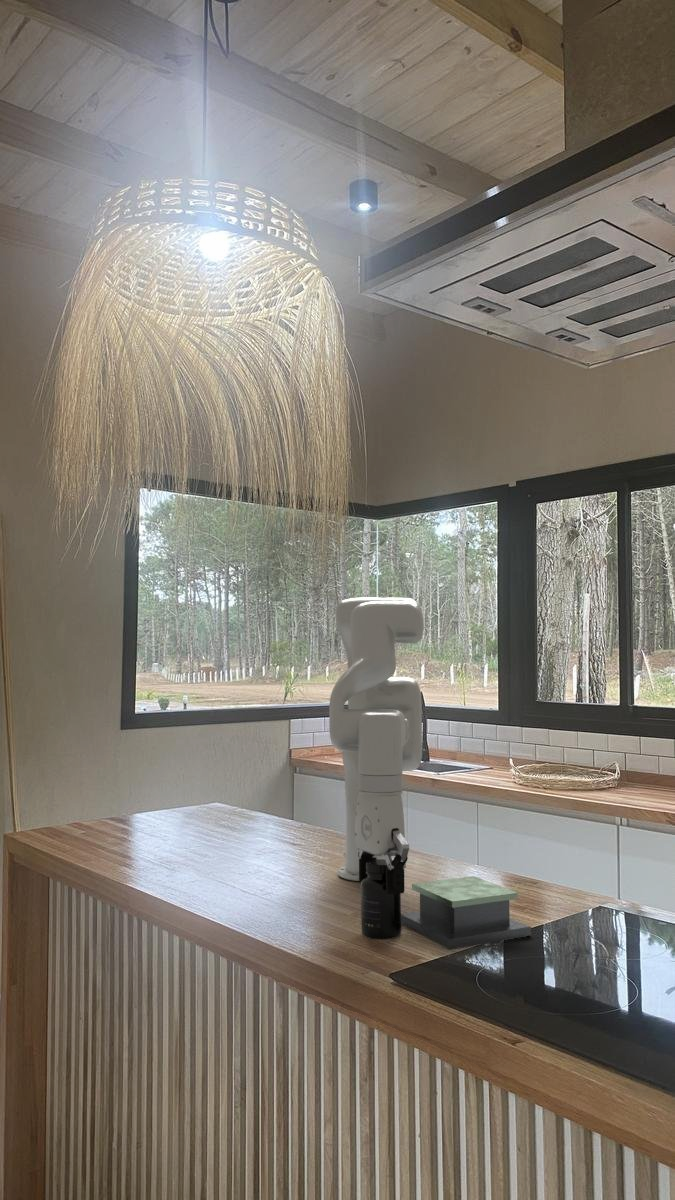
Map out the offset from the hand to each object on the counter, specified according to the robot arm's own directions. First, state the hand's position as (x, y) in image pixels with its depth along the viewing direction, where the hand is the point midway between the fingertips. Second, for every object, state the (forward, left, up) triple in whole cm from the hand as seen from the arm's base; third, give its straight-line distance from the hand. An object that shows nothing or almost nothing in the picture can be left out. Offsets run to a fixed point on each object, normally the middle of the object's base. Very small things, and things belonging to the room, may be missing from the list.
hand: (381, 887), depth 152 cm
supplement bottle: (-1, 0, -8) cm, 8 cm away
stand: (+3, +14, -8) cm, 17 cm away
